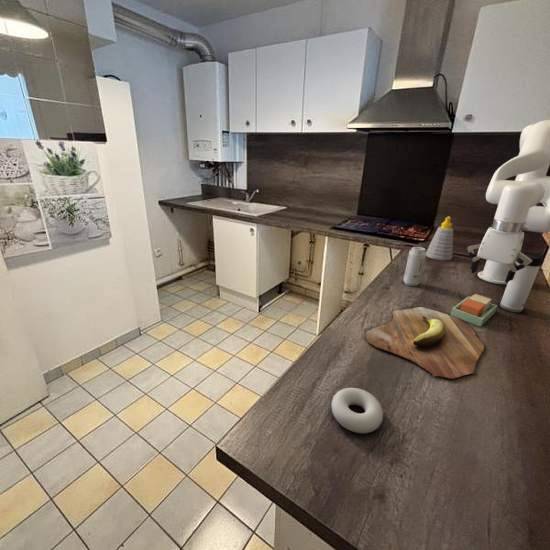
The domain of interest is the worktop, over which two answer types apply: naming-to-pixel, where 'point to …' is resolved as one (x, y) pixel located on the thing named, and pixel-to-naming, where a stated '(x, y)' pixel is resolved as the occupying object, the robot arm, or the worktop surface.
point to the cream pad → (481, 301)
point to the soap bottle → (442, 242)
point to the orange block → (472, 308)
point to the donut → (355, 420)
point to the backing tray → (471, 318)
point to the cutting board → (430, 341)
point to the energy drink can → (414, 266)
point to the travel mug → (521, 284)
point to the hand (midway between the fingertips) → (490, 276)
